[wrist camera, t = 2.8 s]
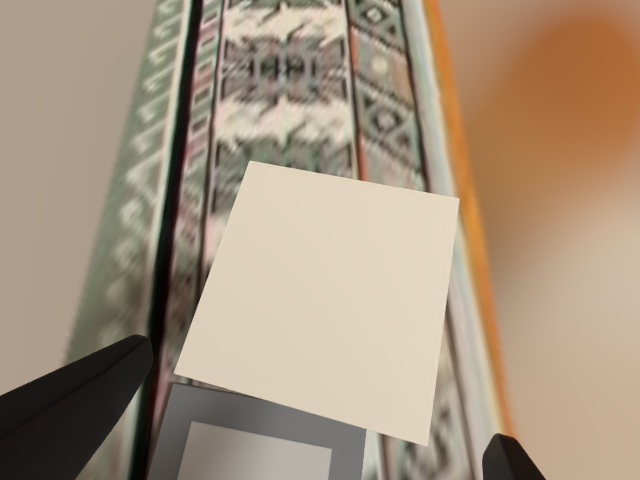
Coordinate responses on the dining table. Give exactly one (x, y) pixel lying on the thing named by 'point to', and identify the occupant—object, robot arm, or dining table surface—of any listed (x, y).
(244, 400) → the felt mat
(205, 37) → the dining table surface
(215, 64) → the dining table surface
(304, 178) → the cream block
